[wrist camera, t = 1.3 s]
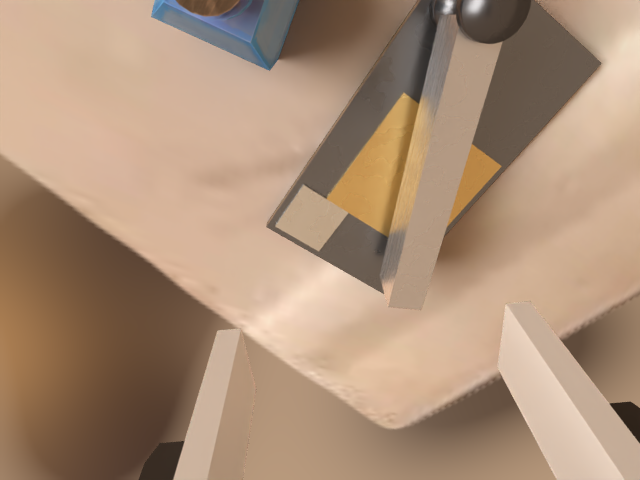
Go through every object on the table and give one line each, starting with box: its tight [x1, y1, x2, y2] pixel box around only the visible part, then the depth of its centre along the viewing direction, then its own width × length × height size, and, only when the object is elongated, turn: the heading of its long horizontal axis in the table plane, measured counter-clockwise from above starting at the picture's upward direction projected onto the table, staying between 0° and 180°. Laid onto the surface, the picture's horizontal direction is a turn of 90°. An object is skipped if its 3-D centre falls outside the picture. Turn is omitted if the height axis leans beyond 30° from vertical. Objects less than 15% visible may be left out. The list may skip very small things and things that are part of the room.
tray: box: [266, 0, 601, 294], centre depth 29 cm, size 22×12×2 cm, turn 146°
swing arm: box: [380, 0, 531, 310], centre depth 26 cm, size 20×3×5 cm, turn 173°
